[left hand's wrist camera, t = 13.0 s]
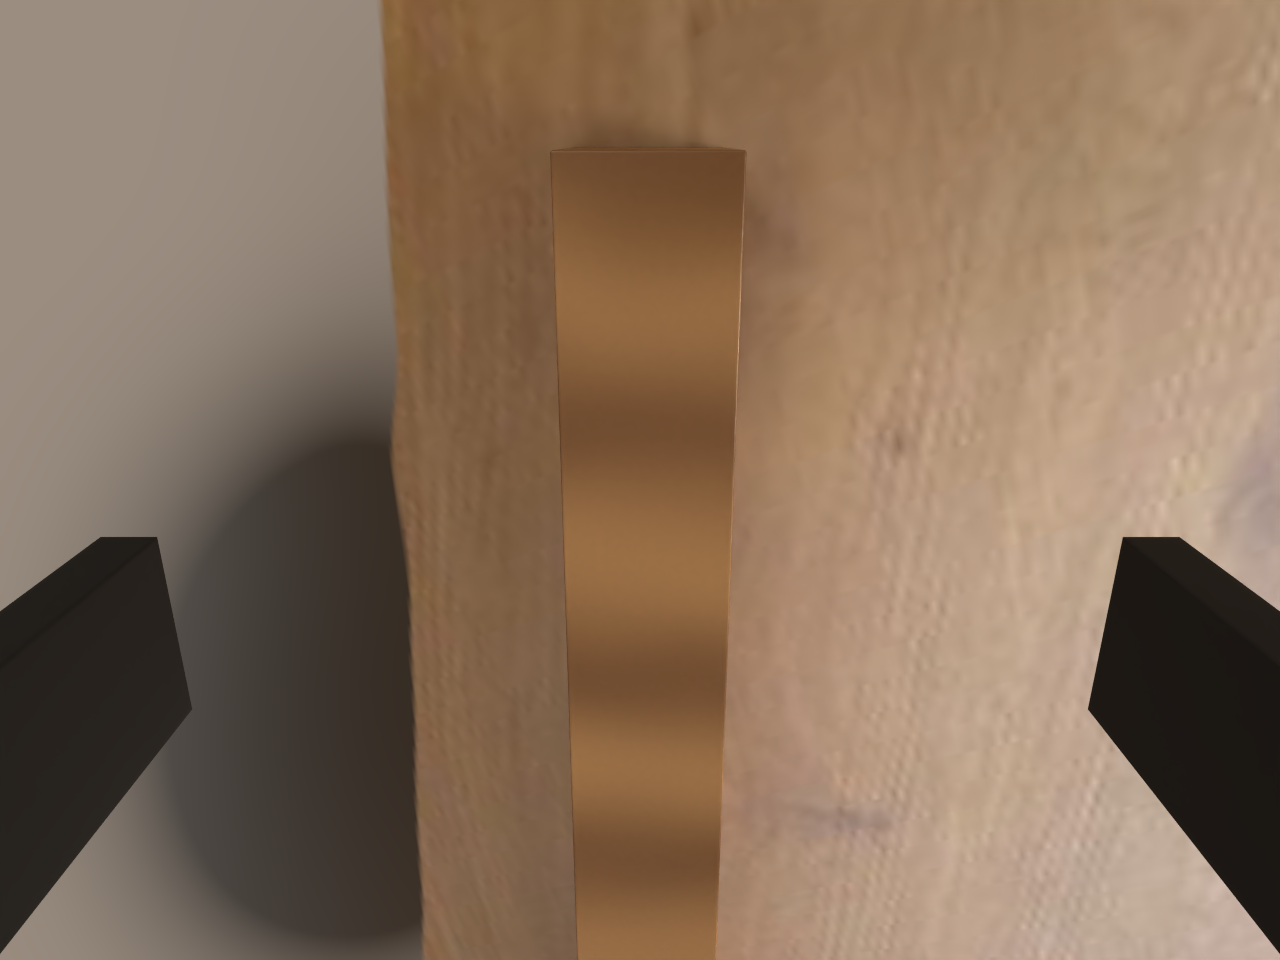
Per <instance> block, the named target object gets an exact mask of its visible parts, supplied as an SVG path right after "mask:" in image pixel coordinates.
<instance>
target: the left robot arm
mask: <svg viewBox="0 0 1280 960" xmlns="http://www.w3.org/2000/svg"><path fill="white" fill-rule="evenodd" d="M191 710H192V707H191V702H190V697H189V692H188V687H187V682H186V677H185V672H184V667H183V662H182V657H181V653H180V648H179V643H178V638H177V633H176V628H175V623H174V618H173V613H172V608H171V604H170V599H169V594H168V589H167V584H166V579H165V574H164V569H163V564H162V559H161V554H160V549H159V545H158V540H157V537H100V538H99V539H97V540H96V541H95V542H93V543H92V544H91V545H89V546H88V547H87V548H85V549H84V550H83V551H81V552H80V553H78V554H77V555H76V556H74V557H73V558H72V559H70V560H69V561H68V562H66V563H65V564H64V565H62V566H61V567H60V568H58V569H57V570H56V571H54V572H53V573H51V574H50V575H49V576H47V577H46V578H45V579H43V580H42V581H41V582H39V583H38V584H37V585H35V586H34V587H33V588H31V589H30V590H28V591H27V592H26V593H24V594H23V595H22V596H20V597H19V598H18V599H16V600H15V601H14V602H12V603H11V604H10V605H8V606H7V607H6V608H4V609H3V610H1V611H0V953H1V952H2V951H3V950H4V948H5V947H6V946H7V944H8V943H9V942H10V941H11V939H12V938H13V937H14V935H15V934H16V933H17V932H18V930H19V929H20V928H21V927H22V925H23V924H24V923H25V921H26V920H27V919H28V918H29V916H30V915H31V914H32V913H33V911H34V910H35V909H36V907H37V906H38V905H39V904H40V902H41V901H42V900H43V899H44V897H45V896H46V895H47V893H48V892H49V891H50V890H51V888H52V887H53V886H54V884H55V883H56V882H57V881H58V879H59V878H60V877H61V876H62V874H63V873H64V872H65V870H66V869H67V868H68V867H69V865H70V864H71V863H72V861H73V860H74V859H75V858H76V856H77V855H78V854H79V853H80V851H81V850H82V849H83V848H84V846H85V845H86V844H87V842H88V841H89V840H90V839H91V837H92V836H93V835H94V833H95V832H96V831H97V830H98V828H99V827H100V826H101V825H102V823H103V822H104V821H105V819H106V818H107V817H108V816H109V814H110V813H111V812H112V811H113V809H114V808H115V807H116V805H117V804H118V803H119V802H120V800H121V799H122V798H123V796H124V795H125V794H126V793H127V791H128V790H129V789H130V788H131V786H132V785H133V784H134V782H135V781H136V780H137V779H138V777H139V776H140V775H141V774H142V772H143V771H144V770H145V768H146V767H147V766H148V765H149V763H150V762H151V761H152V760H153V758H154V757H155V756H156V754H157V753H158V752H159V751H160V749H161V748H162V747H163V746H164V744H165V743H166V742H167V740H168V739H169V738H170V737H171V735H172V734H173V733H174V732H175V730H176V729H177V728H178V726H179V725H180V724H181V723H182V721H183V720H184V719H185V718H186V716H187V715H188V714H189V712H190V711H191ZM1088 710H1089V711H1090V712H1091V714H1092V715H1093V716H1094V718H1095V719H1096V720H1097V721H1098V723H1099V724H1100V725H1101V726H1102V728H1103V729H1104V730H1105V732H1106V733H1107V734H1108V735H1109V737H1110V738H1111V739H1112V740H1113V742H1114V743H1115V744H1116V746H1117V747H1118V748H1119V749H1120V751H1121V752H1122V753H1123V754H1124V756H1125V757H1126V758H1127V760H1128V761H1129V762H1130V763H1131V765H1132V766H1133V767H1134V769H1135V770H1136V771H1137V772H1138V774H1139V775H1140V776H1141V777H1142V779H1143V780H1144V781H1145V783H1146V784H1147V785H1148V786H1149V788H1150V789H1151V790H1152V791H1153V793H1154V794H1155V795H1156V797H1157V798H1158V799H1159V800H1160V802H1161V803H1162V804H1163V805H1164V807H1165V808H1166V809H1167V811H1168V812H1169V813H1170V814H1171V816H1172V817H1173V818H1174V819H1175V821H1176V822H1177V823H1178V825H1179V826H1180V827H1181V828H1182V830H1183V831H1184V832H1185V834H1186V835H1187V836H1188V837H1189V839H1190V840H1191V841H1192V842H1193V844H1194V845H1195V846H1196V848H1197V849H1198V850H1199V851H1200V853H1201V854H1202V855H1203V856H1204V858H1205V859H1206V860H1207V862H1208V863H1209V864H1210V865H1211V867H1212V868H1213V869H1214V870H1215V872H1216V873H1217V874H1218V876H1219V877H1220V878H1221V879H1222V881H1223V882H1224V883H1225V884H1226V886H1227V887H1228V888H1229V890H1230V891H1231V892H1232V893H1233V895H1234V896H1235V897H1236V899H1237V900H1238V901H1239V902H1240V904H1241V905H1242V906H1243V907H1244V909H1245V910H1246V911H1247V913H1248V914H1249V915H1250V916H1251V918H1252V919H1253V920H1254V921H1255V923H1256V924H1257V925H1258V927H1259V928H1260V929H1261V930H1262V932H1263V933H1264V934H1265V935H1266V937H1267V938H1268V939H1269V941H1270V942H1271V943H1272V944H1273V946H1274V947H1275V948H1276V950H1277V951H1278V952H1279V953H1280V611H1279V610H1277V609H1276V608H1275V607H1273V606H1272V605H1270V604H1269V603H1268V602H1266V601H1265V600H1264V599H1262V598H1261V597H1260V596H1258V595H1257V594H1256V593H1254V592H1253V591H1252V590H1250V589H1249V588H1247V587H1246V586H1245V585H1243V584H1242V583H1241V582H1239V581H1238V580H1237V579H1235V578H1234V577H1233V576H1231V575H1230V574H1229V573H1227V572H1226V571H1224V570H1223V569H1222V568H1220V567H1219V566H1218V565H1216V564H1215V563H1214V562H1212V561H1211V560H1210V559H1208V558H1207V557H1206V556H1204V555H1203V554H1202V553H1200V552H1199V551H1197V550H1196V549H1195V548H1193V547H1192V546H1191V545H1189V544H1188V543H1187V542H1185V541H1184V540H1183V539H1181V538H1180V537H1123V540H1122V545H1121V549H1120V554H1119V559H1118V564H1117V569H1116V574H1115V579H1114V584H1113V589H1112V594H1111V599H1110V603H1109V608H1108V613H1107V618H1106V623H1105V628H1104V633H1103V638H1102V643H1101V648H1100V653H1099V657H1098V662H1097V667H1096V672H1095V677H1094V682H1093V687H1092V692H1091V697H1090V702H1089V707H1088Z"/></svg>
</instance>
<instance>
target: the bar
mask: <svg viewBox="0 0 1280 960" xmlns="http://www.w3.org/2000/svg"><path fill="white" fill-rule="evenodd" d="M550 154H551V184H552V214H553V244H554V274H555V304H556V334H557V365H558V395H559V425H560V455H561V485H562V515H563V545H564V575H565V605H566V635H567V665H568V695H569V725H570V755H571V785H572V815H573V845H574V876H575V906H576V936H577V960H716V942H717V916H718V889H719V863H720V836H721V810H722V784H723V757H724V731H725V704H726V678H727V652H728V625H729V599H730V572H731V546H732V519H733V493H734V467H735V440H736V414H737V387H738V361H739V335H740V308H741V282H742V255H743V229H744V203H745V176H746V151H745V150H738V149H730V148H566V149H559V150H552V151H551V152H550Z"/></svg>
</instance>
